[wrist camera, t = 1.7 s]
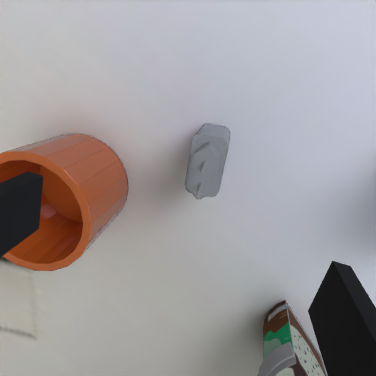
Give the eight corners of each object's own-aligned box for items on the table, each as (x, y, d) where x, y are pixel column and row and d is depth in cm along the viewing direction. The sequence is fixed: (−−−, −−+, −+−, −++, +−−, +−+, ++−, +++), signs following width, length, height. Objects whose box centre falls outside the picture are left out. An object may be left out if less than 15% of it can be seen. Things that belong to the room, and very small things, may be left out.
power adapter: (231, 127, 33) (228, 151, 21) (221, 176, 35) (213, 221, 23) (202, 122, 33) (184, 142, 22) (193, 170, 35) (173, 212, 24)
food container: (235, 309, 40) (234, 378, 30) (279, 290, 38) (293, 358, 29) (282, 376, 42) (294, 461, 33) (325, 362, 40) (352, 447, 31)
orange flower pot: (119, 237, 39) (82, 285, 30) (33, 211, 40) (-30, 250, 30) (136, 148, 35) (99, 173, 26) (40, 121, 36) (-30, 135, 26)
